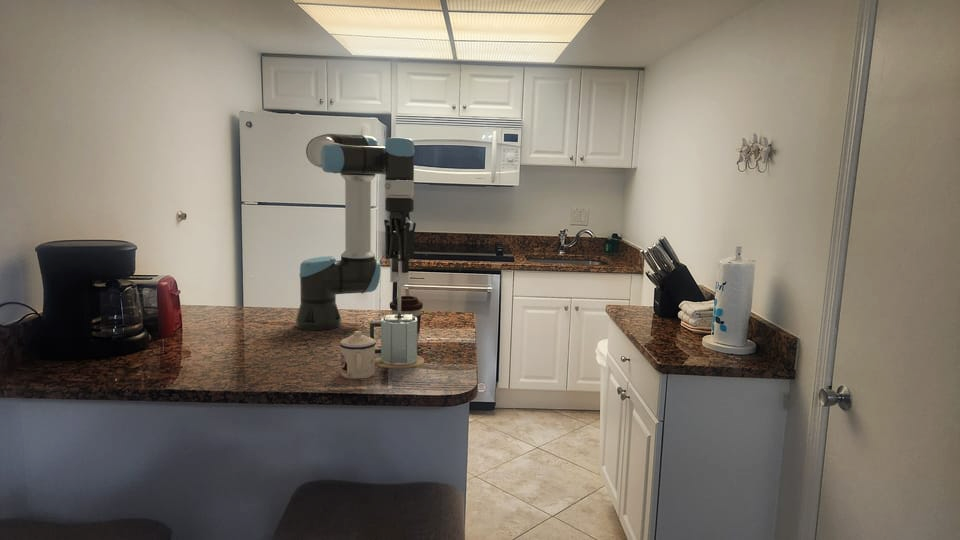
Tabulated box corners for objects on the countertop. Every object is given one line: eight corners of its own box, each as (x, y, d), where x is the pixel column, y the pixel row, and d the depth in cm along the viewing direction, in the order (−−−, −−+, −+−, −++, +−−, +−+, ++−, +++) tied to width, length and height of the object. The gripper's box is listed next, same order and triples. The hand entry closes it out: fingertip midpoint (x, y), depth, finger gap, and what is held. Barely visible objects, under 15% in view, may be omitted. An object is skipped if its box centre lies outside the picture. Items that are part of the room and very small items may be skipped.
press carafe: (371, 355, 172) (371, 313, 170) (416, 355, 174) (417, 312, 172) (369, 366, 162) (369, 321, 160) (417, 365, 164) (417, 321, 162)
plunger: (385, 321, 170) (385, 256, 167) (412, 321, 171) (413, 256, 168) (384, 328, 162) (384, 259, 160) (413, 328, 163) (413, 259, 161)
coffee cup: (416, 351, 180) (417, 301, 177) (385, 348, 181) (384, 299, 179) (426, 342, 189) (426, 295, 187) (396, 340, 191) (396, 293, 189)
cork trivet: (365, 360, 170) (365, 358, 170) (408, 352, 178) (408, 350, 178) (388, 373, 159) (388, 371, 158) (433, 365, 167) (433, 362, 167)
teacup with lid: (340, 370, 160) (339, 327, 159) (374, 368, 162) (374, 326, 161) (340, 385, 149) (339, 339, 147) (377, 383, 151) (377, 338, 149)
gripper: (372, 195, 166) (372, 279, 170) (402, 198, 152) (402, 289, 156) (396, 195, 170) (396, 277, 174) (428, 198, 157) (427, 286, 160)
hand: (399, 282), depth 165 cm, fingers closed on plunger, 4 cm apart
